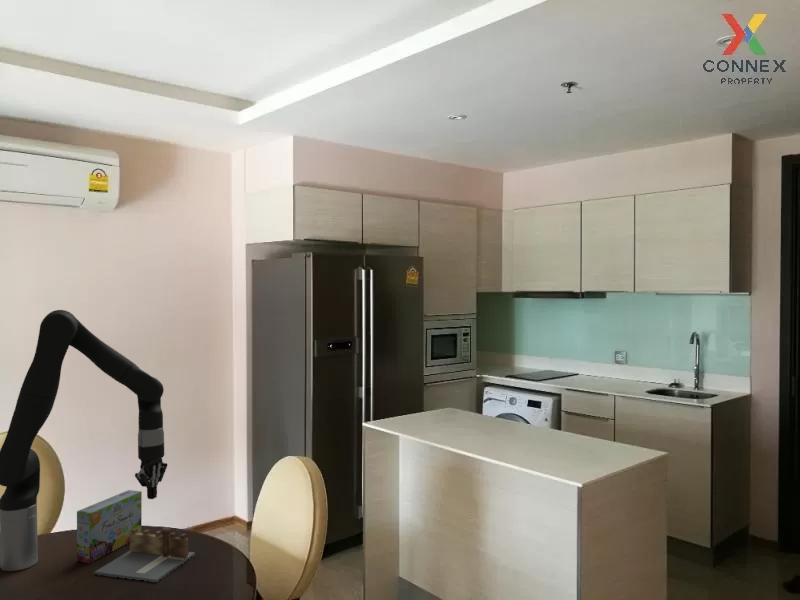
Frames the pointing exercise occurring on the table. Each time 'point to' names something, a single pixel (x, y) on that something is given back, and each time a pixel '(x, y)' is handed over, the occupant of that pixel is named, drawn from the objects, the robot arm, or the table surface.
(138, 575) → the board
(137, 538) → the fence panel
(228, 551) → the table surface
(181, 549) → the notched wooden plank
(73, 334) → the robot arm
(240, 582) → the table surface
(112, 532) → the snack box
